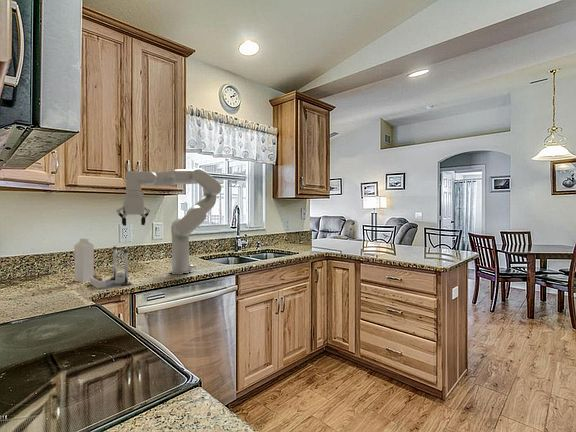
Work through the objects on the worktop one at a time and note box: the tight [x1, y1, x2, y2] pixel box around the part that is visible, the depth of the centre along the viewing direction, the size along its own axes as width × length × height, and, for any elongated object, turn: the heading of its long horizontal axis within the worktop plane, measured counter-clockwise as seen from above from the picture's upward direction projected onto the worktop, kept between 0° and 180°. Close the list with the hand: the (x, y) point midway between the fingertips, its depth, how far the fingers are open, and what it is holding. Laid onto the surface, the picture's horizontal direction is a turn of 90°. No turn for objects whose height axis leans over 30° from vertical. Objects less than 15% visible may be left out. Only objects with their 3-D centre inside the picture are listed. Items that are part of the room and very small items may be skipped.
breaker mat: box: [87, 274, 134, 291], centre depth 158 cm, size 15×21×5 cm
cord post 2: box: [121, 249, 132, 287], centre depth 155 cm, size 4×4×17 cm
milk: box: [73, 238, 95, 283], centre depth 165 cm, size 6×6×22 cm
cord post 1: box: [110, 245, 118, 280], centre depth 167 cm, size 4×4×17 cm
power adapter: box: [115, 269, 125, 284], centre depth 161 cm, size 11×5×6 cm, turn 24°
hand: (133, 225), depth 178 cm, fingers open, 9 cm apart
